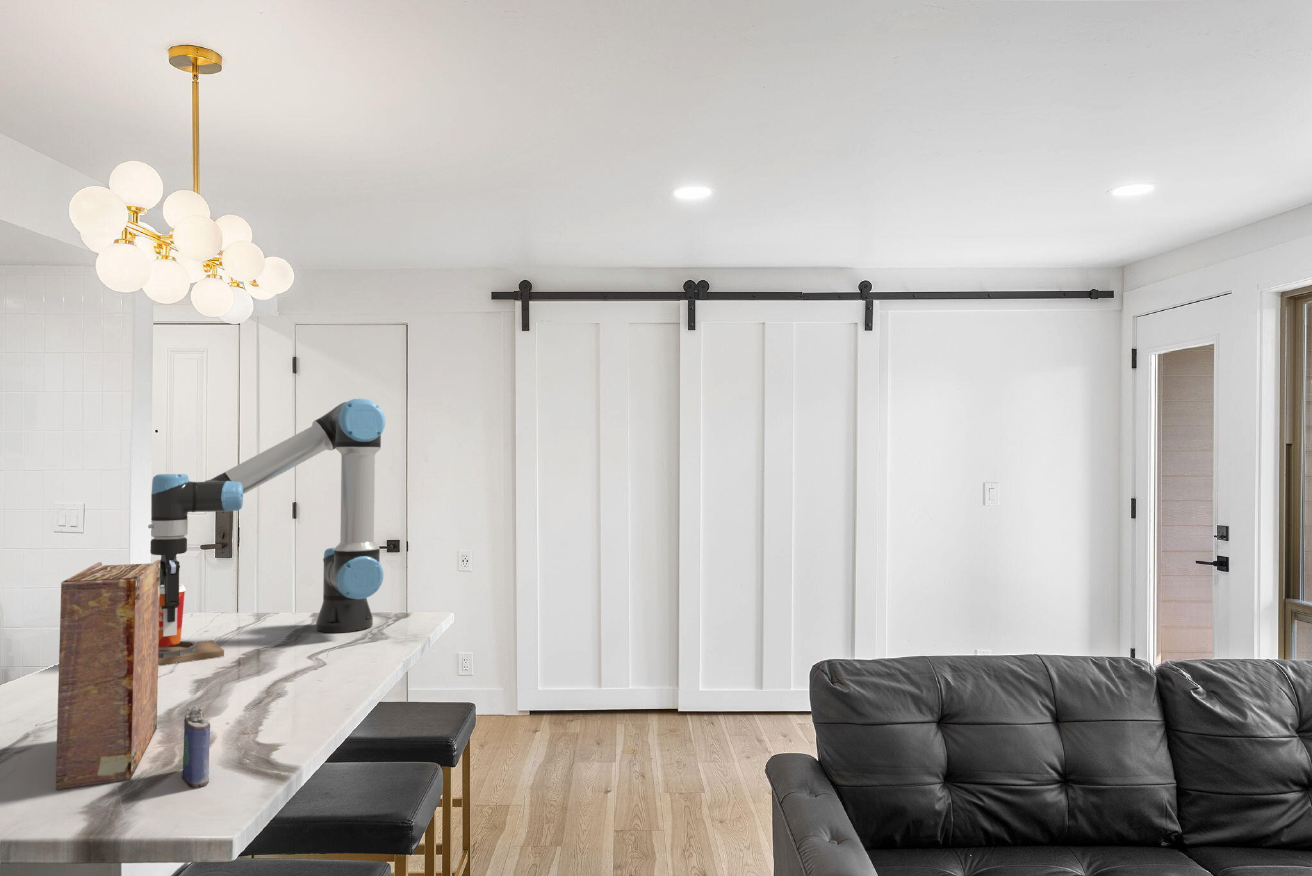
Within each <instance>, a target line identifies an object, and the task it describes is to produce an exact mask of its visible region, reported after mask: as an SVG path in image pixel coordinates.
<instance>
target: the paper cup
mask: <svg viewBox="0 0 1312 876" xmlns="http://www.w3.org/2000/svg"><path fill="white" fill-rule="evenodd" d="M185 591H187V589H186V587H185V584H183V583H179V603H180V604H179V606H178V607H177V635H172V636H163V615H164V609H161V607H162V606H165V588H164V585H160V602H159V647H163V646H172V645H176V644H179V643H180V641H182V640H181V639H182V630H183V629H182V628H183V617H184V604H185V594H186V593H185ZM170 602H172V601H170Z"/></svg>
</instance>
